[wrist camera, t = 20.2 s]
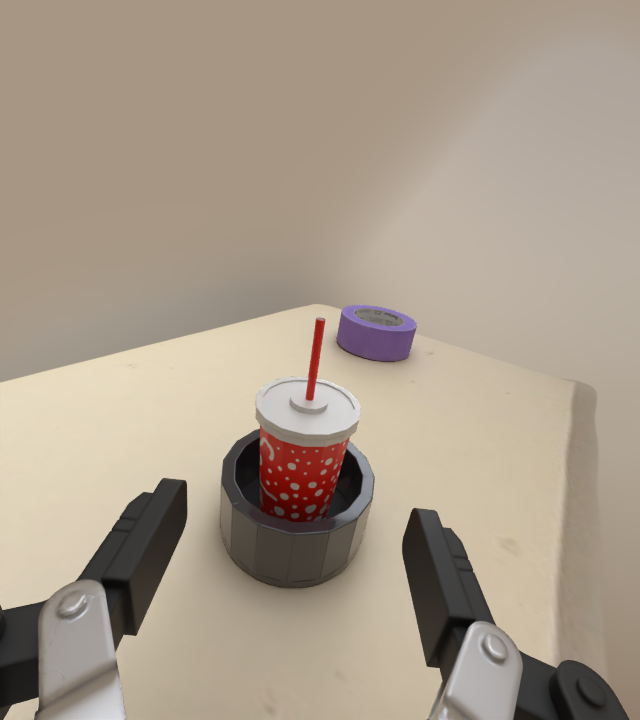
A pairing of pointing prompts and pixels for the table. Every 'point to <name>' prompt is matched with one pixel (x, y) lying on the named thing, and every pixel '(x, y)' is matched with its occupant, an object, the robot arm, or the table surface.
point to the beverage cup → (303, 441)
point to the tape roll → (376, 332)
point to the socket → (286, 538)
